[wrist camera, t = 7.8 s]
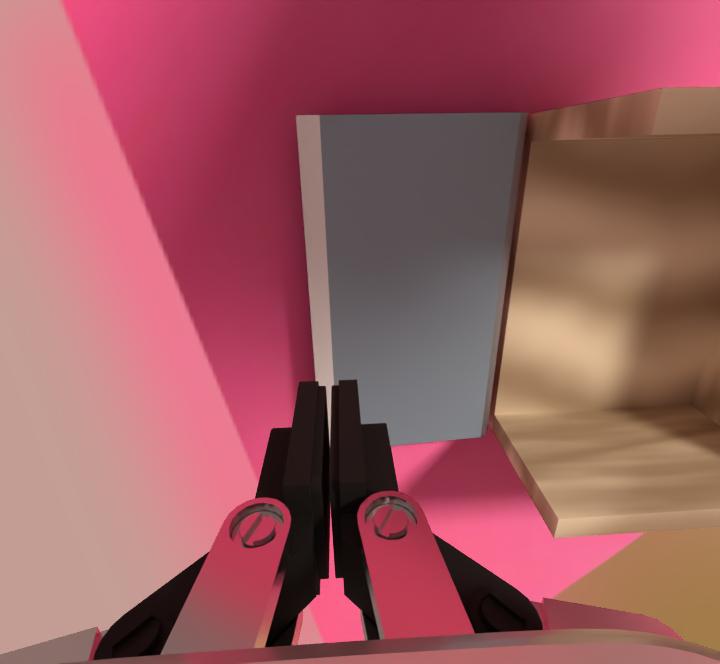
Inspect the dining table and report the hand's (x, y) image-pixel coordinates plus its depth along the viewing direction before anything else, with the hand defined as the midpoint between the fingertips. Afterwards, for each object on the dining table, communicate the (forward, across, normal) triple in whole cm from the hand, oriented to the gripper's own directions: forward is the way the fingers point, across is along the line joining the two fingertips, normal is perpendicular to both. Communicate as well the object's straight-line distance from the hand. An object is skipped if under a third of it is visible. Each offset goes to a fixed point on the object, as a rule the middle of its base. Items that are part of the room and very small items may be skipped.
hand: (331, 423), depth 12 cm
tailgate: (+11, -9, 0) cm, 14 cm away
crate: (+12, -17, 0) cm, 21 cm away
